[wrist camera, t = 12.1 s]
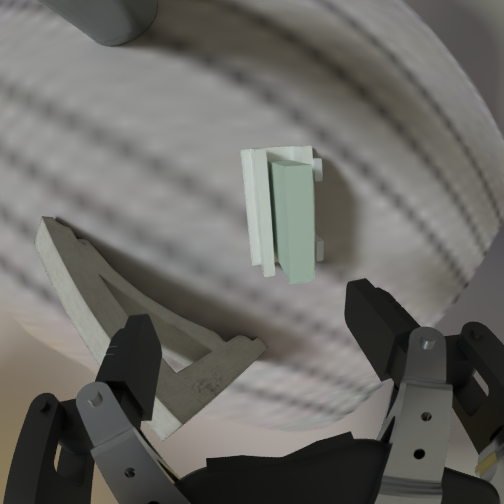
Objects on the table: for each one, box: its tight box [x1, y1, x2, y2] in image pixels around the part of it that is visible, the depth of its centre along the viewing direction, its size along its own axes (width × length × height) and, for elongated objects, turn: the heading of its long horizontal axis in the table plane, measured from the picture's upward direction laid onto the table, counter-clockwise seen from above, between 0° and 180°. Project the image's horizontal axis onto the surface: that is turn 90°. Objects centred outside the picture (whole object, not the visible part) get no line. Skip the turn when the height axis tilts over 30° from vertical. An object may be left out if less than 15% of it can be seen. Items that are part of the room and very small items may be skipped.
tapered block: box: [267, 160, 314, 285], centre depth 28 cm, size 11×3×8 cm, turn 5°
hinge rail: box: [240, 146, 324, 277], centre depth 30 cm, size 14×8×5 cm, turn 5°
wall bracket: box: [34, 216, 268, 441], centre depth 34 cm, size 22×4×30 cm
